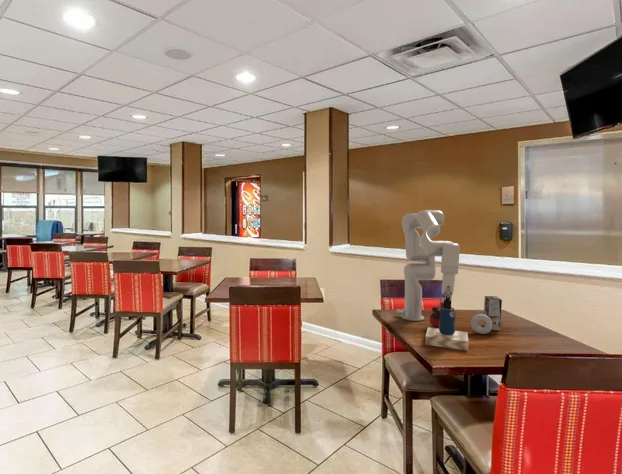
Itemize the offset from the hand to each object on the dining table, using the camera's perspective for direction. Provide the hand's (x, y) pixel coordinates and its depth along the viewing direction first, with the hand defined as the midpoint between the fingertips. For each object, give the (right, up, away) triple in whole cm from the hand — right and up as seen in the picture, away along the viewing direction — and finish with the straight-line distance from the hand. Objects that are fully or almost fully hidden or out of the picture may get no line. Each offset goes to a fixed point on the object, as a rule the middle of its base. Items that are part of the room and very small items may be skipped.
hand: (447, 305), depth 170 cm
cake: (+3, -16, +20) cm, 26 cm away
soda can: (0, -13, 0) cm, 13 cm away
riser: (0, -17, 0) cm, 17 cm away
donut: (+22, -17, +14) cm, 31 cm away
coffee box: (+33, -16, +25) cm, 45 cm away
